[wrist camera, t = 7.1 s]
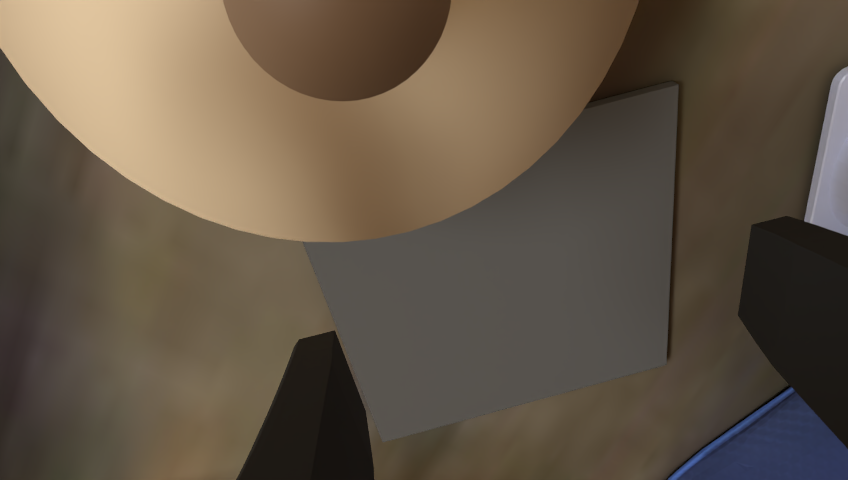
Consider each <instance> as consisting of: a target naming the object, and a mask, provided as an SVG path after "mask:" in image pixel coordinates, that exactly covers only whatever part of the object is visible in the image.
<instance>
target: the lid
mask: <svg viewBox="0 0 848 480" xmlns="http://www.w3.org/2000/svg"><path fill="white" fill-rule="evenodd" d="M638 2H639V0H0V48H1V49H2V51H3V52H4V53H5V55H6V56H7V58H8V59H9V61H10V62H11V63H12V65H13V66H14V68H15V69H16V71H17V72H18V73H19V75H20V76H21V78H22V79H23V80H24V82H25V83H26V84H27V86H28V87H29V88H30V89H31V90H32V91H33V92H34V94H35V95H36V96H37V97H38V98H39V99H40V100H41V102H42V103H43V104H44V105H45V106H46V107H47V108H48V110H49V111H50V112H51V113H52V114H53V115H54V117H55V118H56V119H57V120H58V121H59V122H60V123H61V124H62V125H63V126H64V127H66V128H67V129H68V130H69V131H70V132H71V133H72V134H73V135H74V136H75V137H76V138H77V139H78V140H80V141H81V142H82V143H83V144H84V145H85V146H86V147H87V148H88V149H89V150H90V151H91V152H93V153H94V154H95V155H97V156H98V157H99V158H101V159H102V160H103V161H105V162H106V163H107V164H109V165H110V166H111V167H113V168H114V169H115V170H117V171H118V172H119V173H121V174H122V175H123V176H125V177H126V178H127V179H129V180H130V181H132V182H134V183H135V184H137V185H139V186H140V187H142V188H144V189H145V190H147V191H149V192H150V193H152V194H154V195H155V196H157V197H159V198H160V199H162V200H164V201H166V202H168V203H170V204H173V205H175V206H177V207H179V208H181V209H183V210H185V211H188V212H190V213H192V214H194V215H196V216H198V217H201V218H204V219H207V220H210V221H212V222H215V223H218V224H221V225H224V226H227V227H230V228H233V229H236V230H240V231H244V232H249V233H253V234H258V235H262V236H266V237H271V238H278V239H287V240H296V241H304V242H349V241H358V240H368V239H377V238H382V237H386V236H391V235H396V234H400V233H405V232H410V231H413V230H416V229H419V228H422V227H425V226H428V225H431V224H434V223H437V222H440V221H442V220H444V219H447V218H449V217H451V216H453V215H455V214H457V213H460V212H462V211H464V210H466V209H468V208H470V207H473V206H474V205H476V204H478V203H479V202H481V201H483V200H484V199H486V198H487V197H489V196H491V195H492V194H494V193H496V192H497V191H499V190H501V189H502V188H504V187H505V186H506V185H508V184H509V183H510V182H511V181H513V180H514V179H515V178H517V177H518V176H519V175H521V174H522V173H523V172H525V171H526V170H527V169H529V168H530V167H531V166H532V165H533V164H534V163H535V162H536V161H537V160H538V159H539V158H540V157H541V156H542V155H543V154H545V153H546V152H547V151H548V150H549V149H550V148H551V147H552V146H553V145H554V144H555V143H556V142H557V141H558V140H559V138H560V137H561V136H562V135H563V134H564V133H565V131H566V130H567V129H568V128H569V127H570V125H571V124H572V123H573V122H574V121H575V120H576V118H577V117H578V116H579V115H580V114H581V112H582V111H583V109H584V108H585V106H586V105H587V103H588V102H589V100H590V99H591V97H592V96H593V94H594V93H595V91H596V90H597V89H598V87H599V86H600V84H601V83H602V81H603V79H604V77H605V75H606V74H607V72H608V70H609V68H610V66H611V64H612V62H613V60H614V59H615V57H616V55H617V53H618V51H619V49H620V47H621V45H622V43H623V40H624V38H625V35H626V33H627V31H628V28H629V26H630V23H631V21H632V18H633V16H634V13H635V11H636V8H637V6H638Z"/></svg>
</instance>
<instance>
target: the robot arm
mask: <svg viewBox="0 0 848 480" xmlns="http://www.w3.org/2000/svg"><path fill="white" fill-rule="evenodd" d="M738 316H739V317H740V319H741V320H742V322H743V324H744V325H745V327H746V328H747V330H748V331H749V333H750V334H751V336H752V337H753V339H754V340H755V342H756V343H757V345H758V346H759V347H760V349H761V350H762V352H763V353H764V354H765V356H766V357H767V359H768V360H769V361H770V363H771V364H772V365H773V366H774V368H775V369H776V370H777V371H778V372H779V373H780V375H781V376H782V377H783V378H784V379H785V380H786V381H787V382H788V384H789V385H790V386H791V387H792V388H793V389H794V390H795V391H796V393H797V394H798V395H799V396H800V397H801V398H802V399H803V400H804V401H805V403H806V404H807V405H808V406H809V407H810V408H811V409H812V410H813V411H814V412H815V414H816V415H817V416H818V417H819V418H820V419H821V420H822V421H823V422H824V423H825V425H826V426H827V427H828V428H829V429H830V430H831V431H832V432H833V433H834V434H835V436H836V437H837V438H838V439H839V440H840V441H841V442H842V443H843V444H844V445H845V446H846V448H847V449H848V67H846V68H843V69H842V70H841V71H839V72H838V73H837V74H836V76H835V77H834V78H833V81H832V84H831V88H830V93H829V98H828V103H827V108H826V113H825V118H824V123H823V128H822V133H821V138H820V143H819V148H818V153H817V158H816V164H815V169H814V174H813V179H812V184H811V189H810V194H809V199H808V204H807V209H806V214H805V219H804V221H802V220H799V219H795V218H792V217H788V216H785V217H781V218H777V219H773V220H769V221H765V222H761V223H757V224H753V225H752V226H751V233H750V240H749V246H748V253H747V259H746V266H745V272H744V279H743V286H742V292H741V299H740V305H739V312H738ZM236 480H374V467H373V460H372V452H371V445H370V438H369V431H368V424H367V417H366V411H365V408H364V406H363V403H362V400H361V398H360V395H359V392H358V390H357V387H356V385H355V382H354V379H353V377H352V374H351V372H350V369H349V366H348V364H347V361H346V358H345V356H344V353H343V351H342V348H341V345H340V343H339V340H338V338H337V335H336V332H335V331H331V332H327V333H323V334H319V335H315V336H311V337H307V338H303V339H299V340H298V342H297V343H296V345H295V346H294V349H293V352H292V354H291V357H290V360H289V362H288V365H287V368H286V370H285V373H284V375H283V378H282V380H281V383H280V385H279V388H278V390H277V393H276V395H275V397H274V400H273V402H272V405H271V407H270V409H269V412H268V414H267V416H266V418H265V420H264V423H263V425H262V427H261V429H260V431H259V434H258V436H257V438H256V440H255V442H254V445H253V447H252V449H251V451H250V453H249V455H248V458H247V460H246V462H245V464H244V466H243V468H242V470H241V472H240V474H239V475H238V477H237V479H236Z"/></svg>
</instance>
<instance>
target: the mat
mask: <svg viewBox="0 0 848 480" xmlns="http://www.w3.org/2000/svg"><path fill="white" fill-rule="evenodd" d="M678 90H679V84H677V83H675V82H674V81H669V82H666V83H662V84H658V85H654V86H650V87H647V88H643V89H639V90H635V91H631V92H628V93H624V94H620V95H616V96H612V97H609V98H605V99H601V100H597V101H594V102H590V103H587V105H586V106H585V108H584V109H583V111H582V112H581V114H580V115H579V116H578V117H577V118H576V120H575V121H574V122H573V123H572V124H571V125H570V127H569V128H568V129H567V130H566V131H565V133H564V134H563V135H562V136H561V137H560V138H559V140H558V141H557V142H556V143H555V144H554V145H553V146H552V147H551V148H550V149H549V150H548V151H547V152H546V153H545V154H543V155H542V156H541V157H540V158H539V159H538V160H537V161H536V162H535V163H534V164H533V165H532V166H531V167H530V168H529V169H527V170H526V171H525V172H523V173H522V174H521V175H519V176H518V177H517V178H515V179H514V180H513V181H511V182H510V183H509V184H508V185H506V186H505V187H504V188H502V189H501V190H499V191H497V192H496V193H494V194H492V195H491V196H489V197H487V198H486V199H484V200H483V201H481V202H479V203H478V204H476V205H474V206H473V207H470V208H468V209H466V210H464V211H462V212H460V213H457V214H455V215H453V216H451V217H449V218H447V219H444V220H442V221H440V222H437V223H434V224H431V225H428V226H425V227H422V228H419V229H416V230H413V231H410V232H405V233H400V234H396V235H391V236H386V237H382V238H377V239H368V240H358V241H349V242H304V241H302V242H303V244H304V247H305V249H306V252H307V254H308V257H309V259H310V262H311V264H312V267H313V269H314V272H315V274H316V277H317V279H318V282H319V284H320V287H321V289H322V292H323V294H324V297H325V299H326V302H327V304H328V307H329V309H330V312H331V314H332V317H333V319H334V322H335V324H336V327H337V329H338V332H339V334H340V337H341V339H342V342H343V344H344V347H345V349H346V352H347V354H348V357H349V359H350V362H351V364H352V367H353V369H354V372H355V374H356V377H357V379H358V382H359V384H360V387H361V389H362V392H363V394H364V397H365V399H366V402H367V404H368V407H369V409H370V412H371V414H372V417H373V419H374V422H375V424H376V427H377V429H378V432H379V434H380V437H381V439H382V442H386V441H390V440H394V439H397V438H401V437H404V436H408V435H412V434H415V433H419V432H423V431H426V430H430V429H434V428H437V427H441V426H445V425H448V424H452V423H456V422H459V421H463V420H467V419H470V418H474V417H478V416H481V415H485V414H489V413H492V412H496V411H500V410H503V409H507V408H510V407H514V406H518V405H521V404H525V403H529V402H532V401H536V400H540V399H543V398H547V397H551V396H554V395H558V394H562V393H565V392H569V391H573V390H576V389H580V388H584V387H587V386H591V385H595V384H598V383H602V382H606V381H609V380H613V379H616V378H620V377H624V376H627V375H631V374H635V373H638V372H642V371H646V370H649V369H653V368H657V367H660V366H664V365H666V363H667V340H668V317H669V295H670V272H671V249H672V226H673V204H674V181H675V158H676V135H677V113H678Z"/></svg>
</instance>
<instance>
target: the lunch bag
mask: <svg viewBox="0 0 848 480" xmlns="http://www.w3.org/2000/svg"><path fill="white" fill-rule="evenodd" d="M668 480H848V449H847V448H846V446H845V445H844V444H843V443H842V442H841V441H840V440H839V439H838V438H837V437H836V436H835V434H834V433H833V432H832V431H831V430H830V429H829V428H828V427H827V426H826V425H825V423H824V422H823V421H822V420H821V419H820V418H819V417H818V416H817V415H816V414H815V412H814V411H813V410H812V409H811V408H810V407H809V406H808V405H807V404H806V403H805V401H804V400H803V399H802V398H801V397H800V396H799V395H798V394H797V393H796V391H795V390H794V389H793V388H792V387H790V388H788V389H787V390H786V391H784V392H783V393H781V394H780V395H779V396H777V397H776V398H775V399H773V400H772V401H770V402H769V403H768V404H766V405H765V406H763V407H762V408H760V409H759V410H757V411H756V412H754V413H753V414H752V415H750V416H749V417H747V418H746V419H744V420H743V421H742V422H740V423H739V424H737V425H736V426H734V427H733V428H732V429H730V430H729V431H727V432H726V433H724V434H723V435H722V436H720V437H719V438H718V439H716V440H715V441H713V442H712V443H711V444H709V445H708V446H706V447H705V448H703V449H702V450H701V451H699V452H698V453H697V454H696V455H695V456H693V457H692V458H691V459H690V460H688V461H687V462H686V463H685V464H684V465H683V466H682V467H680V468H679V469H678V470H677V471H676V472H675V473H674V474H673V475H672V476H670V477H669V478H668Z"/></svg>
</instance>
